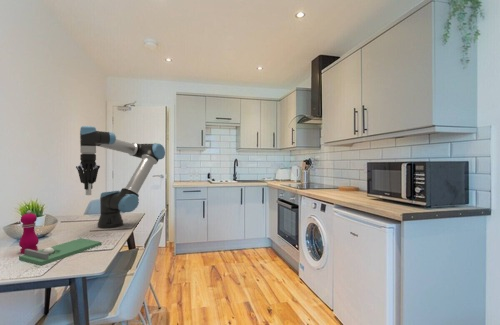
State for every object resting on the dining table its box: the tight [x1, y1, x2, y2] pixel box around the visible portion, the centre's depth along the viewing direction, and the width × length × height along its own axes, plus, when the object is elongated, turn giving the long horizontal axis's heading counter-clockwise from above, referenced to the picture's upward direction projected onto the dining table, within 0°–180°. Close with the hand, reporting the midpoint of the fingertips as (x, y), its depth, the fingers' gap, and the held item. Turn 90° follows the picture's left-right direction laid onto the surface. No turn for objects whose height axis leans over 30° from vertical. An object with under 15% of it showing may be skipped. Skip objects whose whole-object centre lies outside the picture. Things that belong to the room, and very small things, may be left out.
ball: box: [43, 246, 54, 255], centre depth 119 cm, size 4×4×4 cm
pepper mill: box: [18, 209, 40, 255], centre depth 125 cm, size 7×7×20 cm
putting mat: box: [18, 238, 102, 266], centre depth 125 cm, size 28×16×4 cm, turn 158°
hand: (88, 195), depth 146 cm, fingers closed
